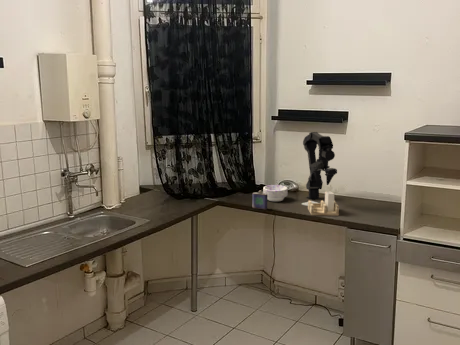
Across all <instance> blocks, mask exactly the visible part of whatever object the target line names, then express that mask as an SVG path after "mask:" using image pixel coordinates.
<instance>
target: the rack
mask: <svg viewBox="0 0 460 345" xmlns="http://www.w3.org/2000/svg"><path fill="white" fill-rule="evenodd" d="M311 201H312V199H308V201H307V202H308V206H307V210H308V212H309V213H310V216H330V217H331V216H332V217H333V216H337V217H338V216H339V215H340V212H339V211H340V210H339V209H340V206H339V205H338V203H337V202H336V200H334V211H327V206H326V204H325V200H323V199H322V200H321V199H320V202H317V203H312V202H311Z"/></svg>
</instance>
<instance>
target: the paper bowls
mask: <svg viewBox="0 0 460 345" xmlns="http://www.w3.org/2000/svg"><path fill="white" fill-rule="evenodd" d="M262 190H263V191H262V193H265V194H267V201H270V202H281V201H284V199H285V198H286V197H288V190H289V189H288V187H287V186H285V185H282V184H268V185H265V186H263V189H262Z"/></svg>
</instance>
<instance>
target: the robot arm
mask: <svg viewBox="0 0 460 345" xmlns="http://www.w3.org/2000/svg"><path fill="white" fill-rule="evenodd" d="M302 145H303V148H304V150H305V152H307V160H308V166H309V177H308V179H307V182H306V184H305V186H306V189H307V190H308V196H306V199H308V200H311V201H314V200H321V197H320V190H322V188H323V183H324V182H323V180H322V174H321V173H322V172H325V173H324V175H325V178H326V185H327V186H328V185H329V184H330V183H331V181H332V179H333V178H334V176H335V175H336V174H338V169H337V168H334V167H331V166H330V165H329V162H330V161H333V160H334V158H335V156H336V154H335V152H334V151H333V150H334V143H333V141H332V138H331V137H330V136H329V135H328V136H326V135H322V134H320V133H319V132H317V131H310V132H309V133H308V134H307V135H306V136H304V138H303V141H302ZM317 147H318V158H317V157H316V149H317ZM332 149H333V150H332Z"/></svg>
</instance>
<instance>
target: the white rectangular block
mask: <svg viewBox="0 0 460 345" xmlns="http://www.w3.org/2000/svg"><path fill="white" fill-rule="evenodd" d="M334 201H335V193H334V192H332V191H325V192H324V203H325V204H326V206H327V211H334Z"/></svg>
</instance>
